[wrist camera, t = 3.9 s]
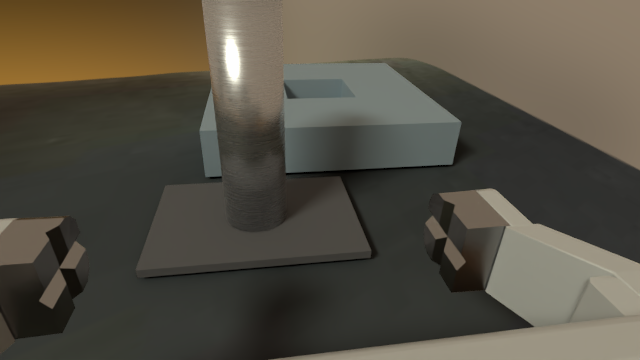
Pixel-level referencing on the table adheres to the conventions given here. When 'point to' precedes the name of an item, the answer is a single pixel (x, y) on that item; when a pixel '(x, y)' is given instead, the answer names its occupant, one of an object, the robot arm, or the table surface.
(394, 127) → the grey square hole board
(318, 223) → the rubber mat
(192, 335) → the table surface
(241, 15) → the steel pin
